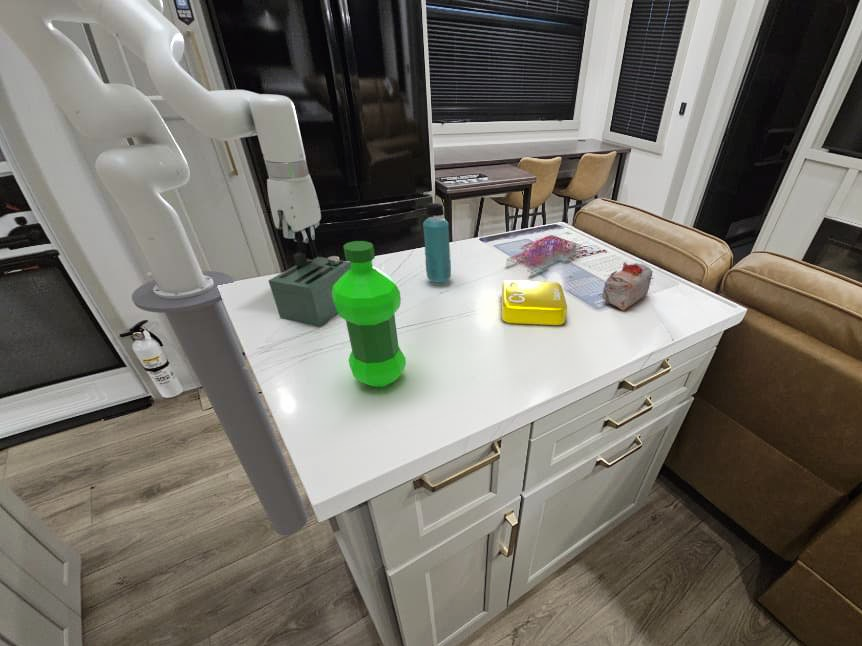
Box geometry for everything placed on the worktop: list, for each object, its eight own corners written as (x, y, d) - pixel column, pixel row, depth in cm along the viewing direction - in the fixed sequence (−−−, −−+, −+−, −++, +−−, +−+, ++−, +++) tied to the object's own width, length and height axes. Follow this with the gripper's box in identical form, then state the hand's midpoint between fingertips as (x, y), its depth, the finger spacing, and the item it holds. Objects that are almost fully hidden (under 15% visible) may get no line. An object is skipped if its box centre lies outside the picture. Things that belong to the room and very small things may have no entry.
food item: (625, 314, 104) (634, 277, 98) (597, 303, 108) (605, 267, 102) (649, 297, 112) (659, 262, 106) (622, 288, 116) (631, 253, 110)
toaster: (280, 318, 92) (267, 280, 86) (321, 290, 104) (312, 255, 98) (320, 326, 90) (310, 287, 85) (357, 297, 102) (350, 261, 96)
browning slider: (295, 266, 92) (293, 255, 91) (301, 262, 94) (298, 251, 92) (302, 267, 92) (299, 256, 91) (308, 263, 94) (305, 253, 92)
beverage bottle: (455, 285, 111) (453, 206, 99) (432, 289, 108) (427, 209, 96) (445, 275, 115) (442, 199, 103) (422, 279, 112) (416, 201, 100)
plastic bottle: (399, 357, 83) (383, 231, 68) (415, 388, 76) (401, 254, 60) (346, 369, 79) (317, 237, 64) (359, 402, 72) (328, 263, 56)
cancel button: (327, 268, 95) (325, 259, 94) (333, 264, 97) (331, 255, 96) (336, 269, 95) (335, 260, 94) (342, 266, 97) (341, 256, 95)
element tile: (565, 326, 97) (568, 308, 94) (501, 323, 96) (502, 304, 93) (558, 297, 109) (561, 280, 106) (501, 294, 108) (502, 277, 105)
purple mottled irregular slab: (533, 281, 116) (534, 263, 113) (492, 265, 123) (493, 247, 120) (589, 254, 135) (592, 238, 132) (551, 242, 142) (553, 226, 139)
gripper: (295, 160, 90) (314, 244, 101) (244, 174, 78) (272, 267, 90) (326, 164, 89) (342, 249, 100) (279, 179, 77) (303, 272, 89)
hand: (309, 257), depth 95 cm, fingers closed
